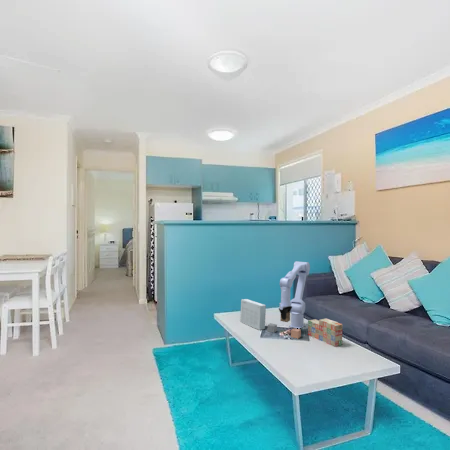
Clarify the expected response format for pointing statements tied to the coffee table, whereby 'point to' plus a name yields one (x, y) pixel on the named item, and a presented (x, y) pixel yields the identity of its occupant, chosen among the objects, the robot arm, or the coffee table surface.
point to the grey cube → (272, 327)
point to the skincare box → (253, 314)
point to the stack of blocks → (326, 331)
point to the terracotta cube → (296, 333)
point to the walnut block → (286, 317)
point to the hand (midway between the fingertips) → (285, 318)
